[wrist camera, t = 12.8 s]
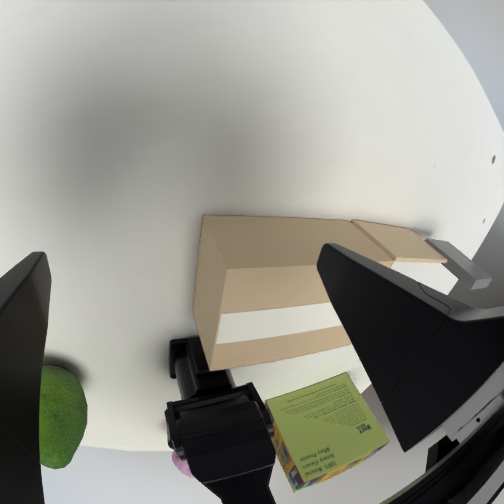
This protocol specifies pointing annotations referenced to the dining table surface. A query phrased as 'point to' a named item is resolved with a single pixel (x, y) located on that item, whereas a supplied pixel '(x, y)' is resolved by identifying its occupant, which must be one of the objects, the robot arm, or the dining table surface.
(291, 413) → the protein box
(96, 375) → the dining table surface
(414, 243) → the grey and tan blocks
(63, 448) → the fruit
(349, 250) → the robot arm
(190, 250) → the dining table surface
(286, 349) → the carton
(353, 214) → the dining table surface
